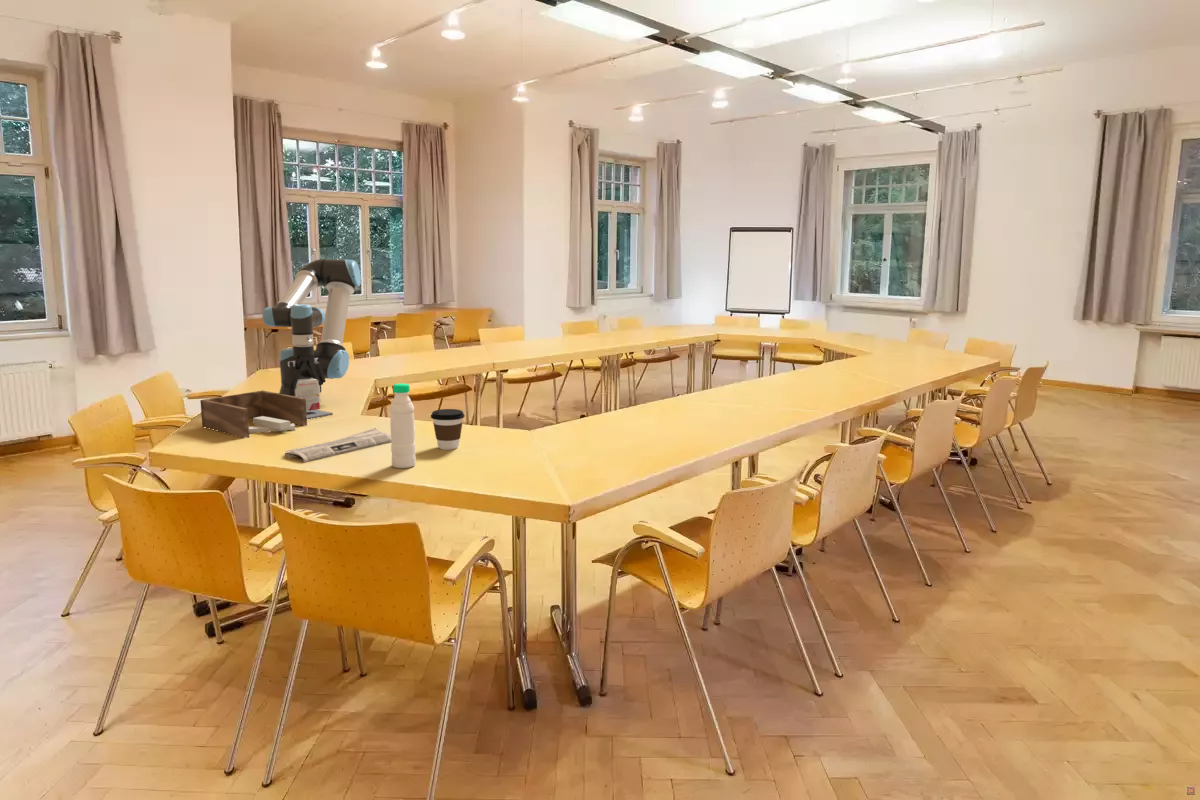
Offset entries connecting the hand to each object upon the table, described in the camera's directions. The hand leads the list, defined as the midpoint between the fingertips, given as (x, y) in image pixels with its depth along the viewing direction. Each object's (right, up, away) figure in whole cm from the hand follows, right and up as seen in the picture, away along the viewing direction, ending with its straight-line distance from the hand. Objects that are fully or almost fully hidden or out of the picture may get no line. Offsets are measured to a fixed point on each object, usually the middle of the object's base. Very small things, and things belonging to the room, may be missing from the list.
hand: (306, 403), depth 306 cm
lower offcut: (-3, -10, -24) cm, 27 cm away
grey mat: (0, -5, +1) cm, 5 cm away
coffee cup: (+63, -15, -44) cm, 78 cm away
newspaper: (+29, -15, -47) cm, 57 cm away
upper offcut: (-3, -8, -25) cm, 26 cm away
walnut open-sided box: (-11, -8, -19) cm, 24 cm away
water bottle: (+54, -19, -66) cm, 87 cm away
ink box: (0, -3, +1) cm, 3 cm away
